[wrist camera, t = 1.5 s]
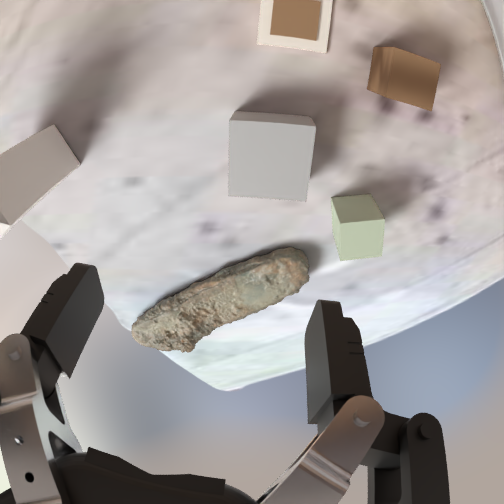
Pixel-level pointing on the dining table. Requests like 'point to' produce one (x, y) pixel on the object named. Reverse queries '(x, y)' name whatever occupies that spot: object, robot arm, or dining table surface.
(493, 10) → the salad plate
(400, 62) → the walnut block
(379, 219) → the sage block
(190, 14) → the dining table surface
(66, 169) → the milk carton
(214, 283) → the long grey stone
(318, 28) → the swatch
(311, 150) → the base block
